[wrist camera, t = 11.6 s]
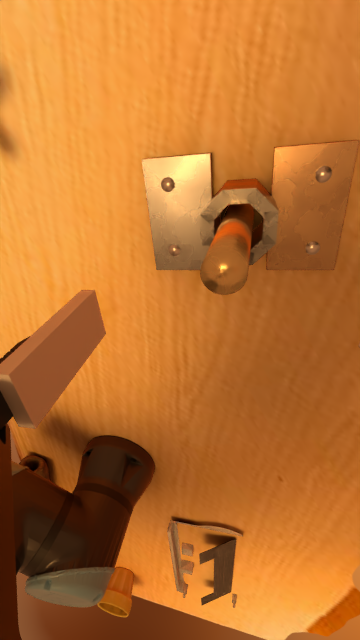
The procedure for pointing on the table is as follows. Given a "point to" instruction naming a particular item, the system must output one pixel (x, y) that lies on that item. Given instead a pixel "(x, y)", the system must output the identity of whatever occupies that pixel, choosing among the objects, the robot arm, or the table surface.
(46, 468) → the stone weight
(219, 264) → the hinge pin
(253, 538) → the table surface
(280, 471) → the table surface
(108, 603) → the plant pot
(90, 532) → the robot arm
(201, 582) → the table surface
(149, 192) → the hinge
